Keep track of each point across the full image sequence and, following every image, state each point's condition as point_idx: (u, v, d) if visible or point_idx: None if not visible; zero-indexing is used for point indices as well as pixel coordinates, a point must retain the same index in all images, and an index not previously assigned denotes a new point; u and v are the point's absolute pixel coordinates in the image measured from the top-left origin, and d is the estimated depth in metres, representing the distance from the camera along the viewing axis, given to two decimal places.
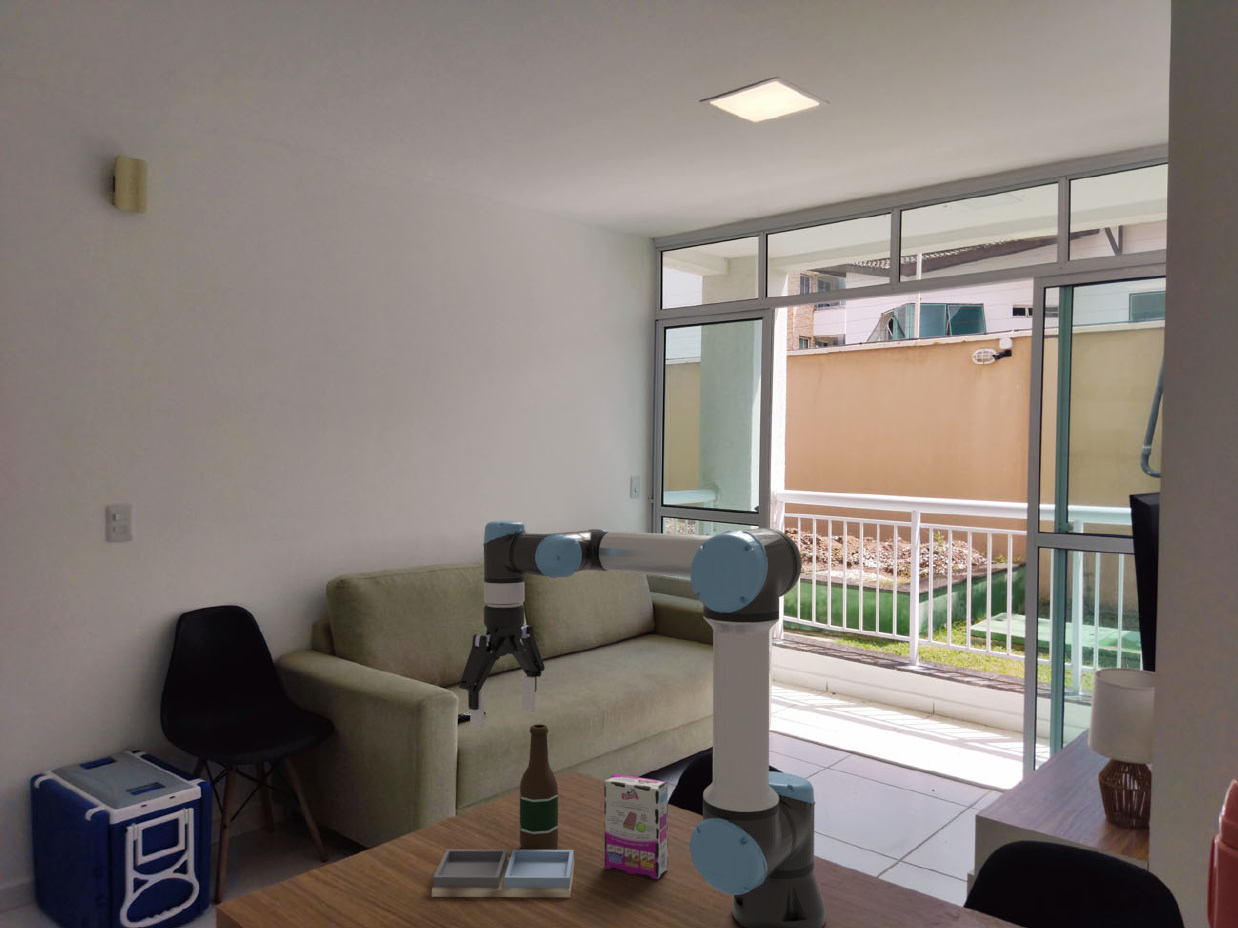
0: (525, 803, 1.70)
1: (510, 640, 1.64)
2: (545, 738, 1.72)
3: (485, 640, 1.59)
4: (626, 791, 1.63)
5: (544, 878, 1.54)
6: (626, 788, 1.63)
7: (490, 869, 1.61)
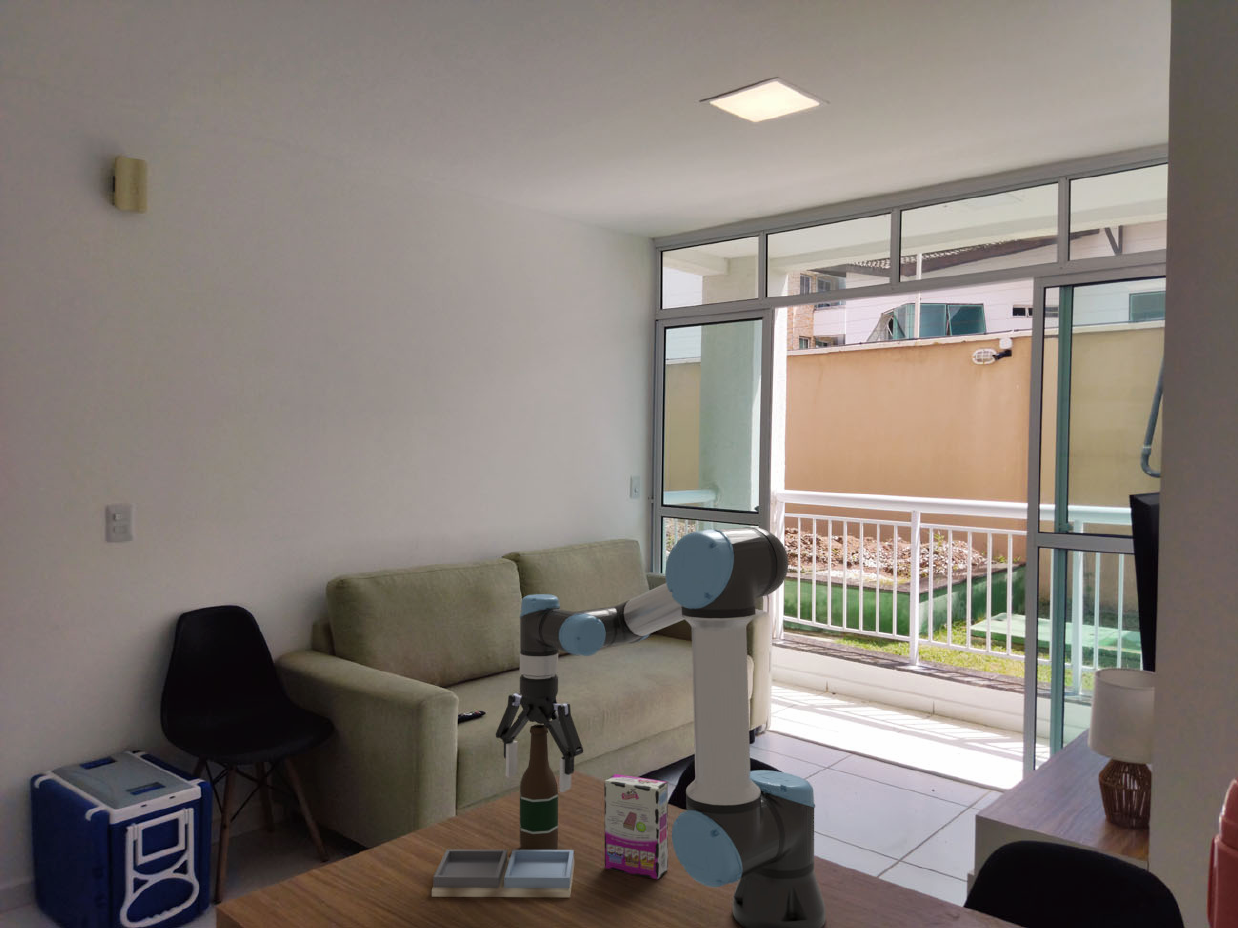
0: (525, 803, 1.70)
1: None
2: (545, 738, 1.72)
3: (511, 699, 1.76)
4: (626, 791, 1.63)
5: (544, 878, 1.54)
6: (626, 788, 1.63)
7: (490, 869, 1.61)
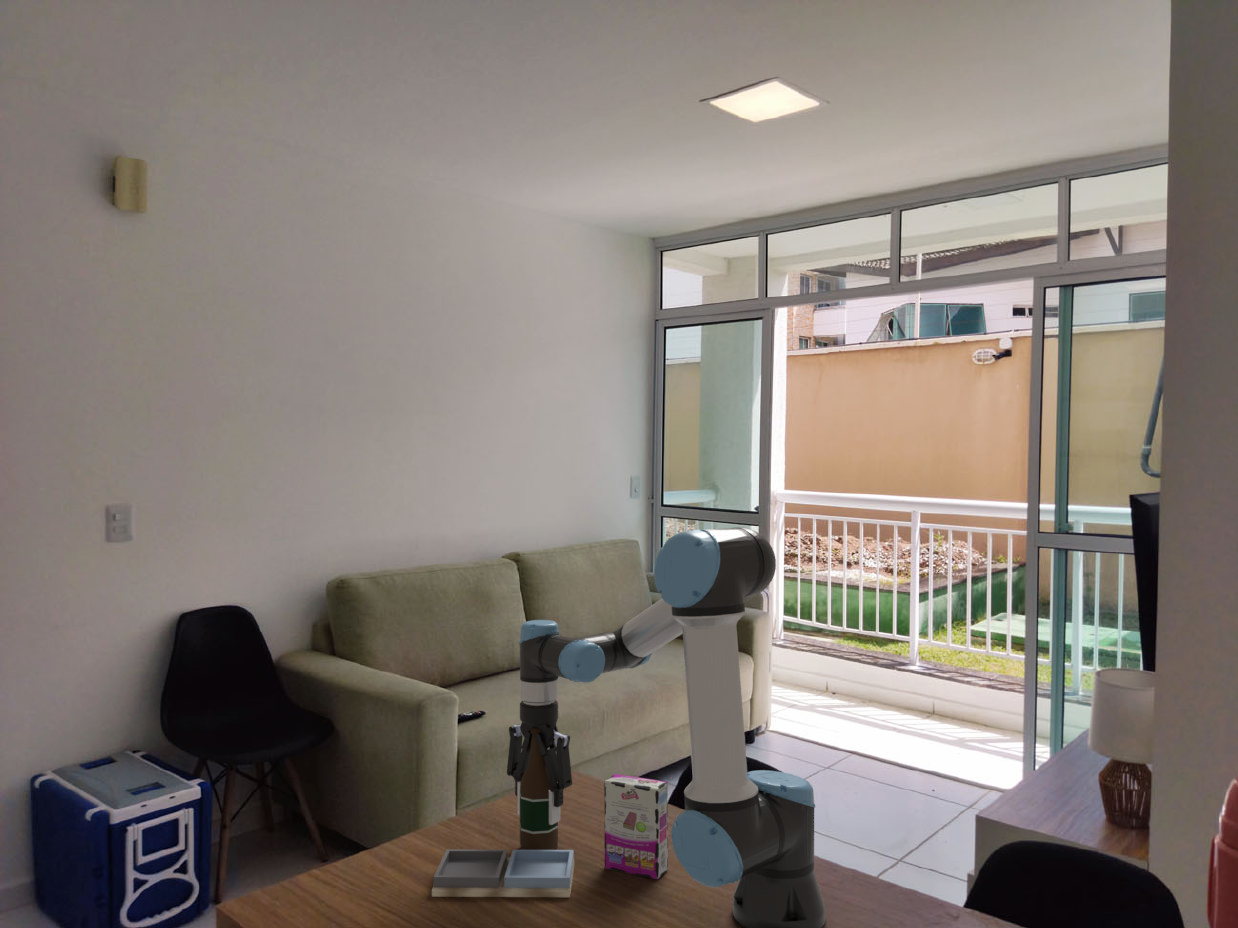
0: (525, 802, 1.70)
1: None
2: None
3: (511, 731, 1.76)
4: (626, 791, 1.63)
5: (544, 878, 1.54)
6: (626, 788, 1.63)
7: (490, 869, 1.61)
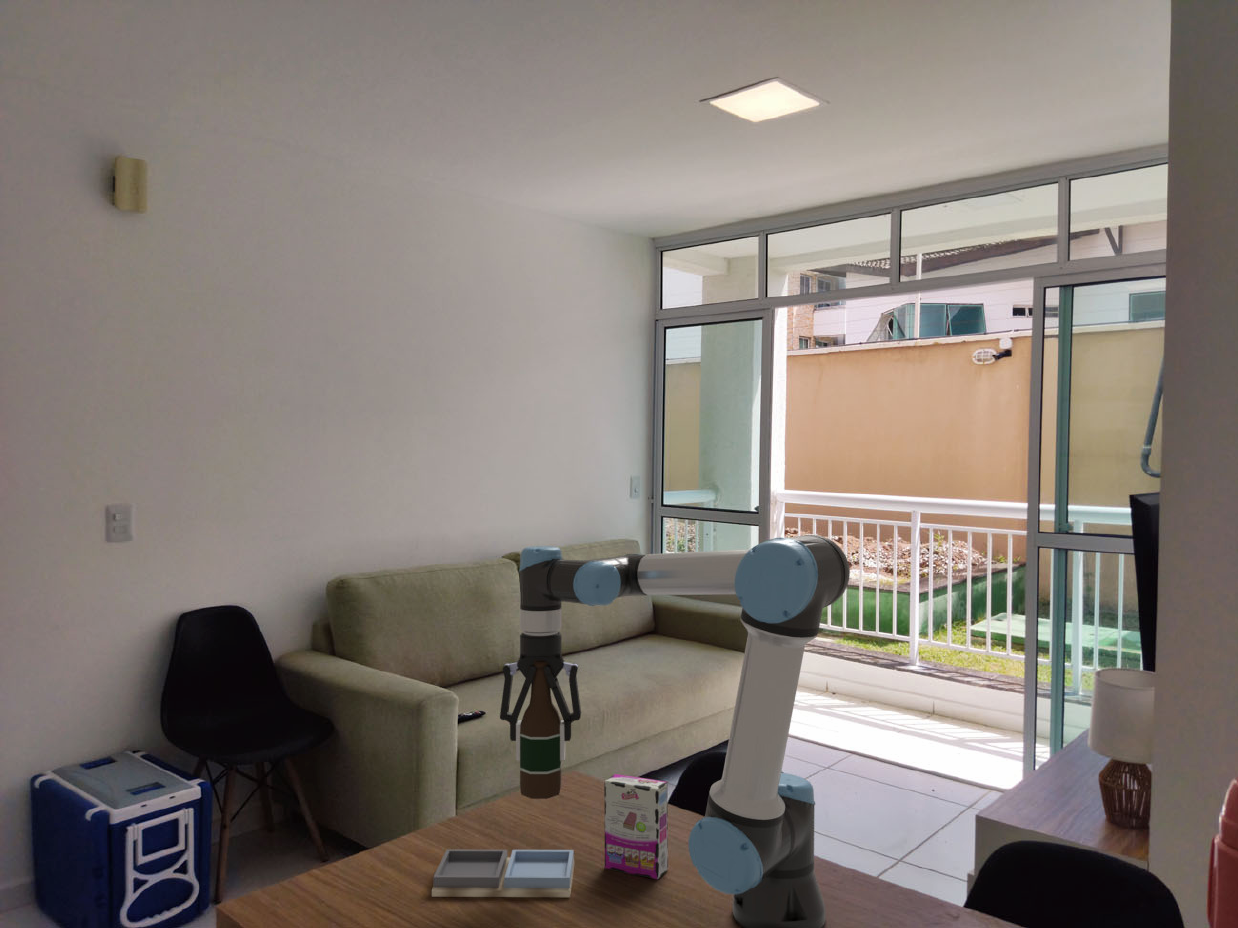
0: (537, 742, 1.57)
1: None
2: None
3: (507, 670, 1.59)
4: (626, 791, 1.63)
5: (544, 878, 1.54)
6: (626, 788, 1.63)
7: (490, 869, 1.61)
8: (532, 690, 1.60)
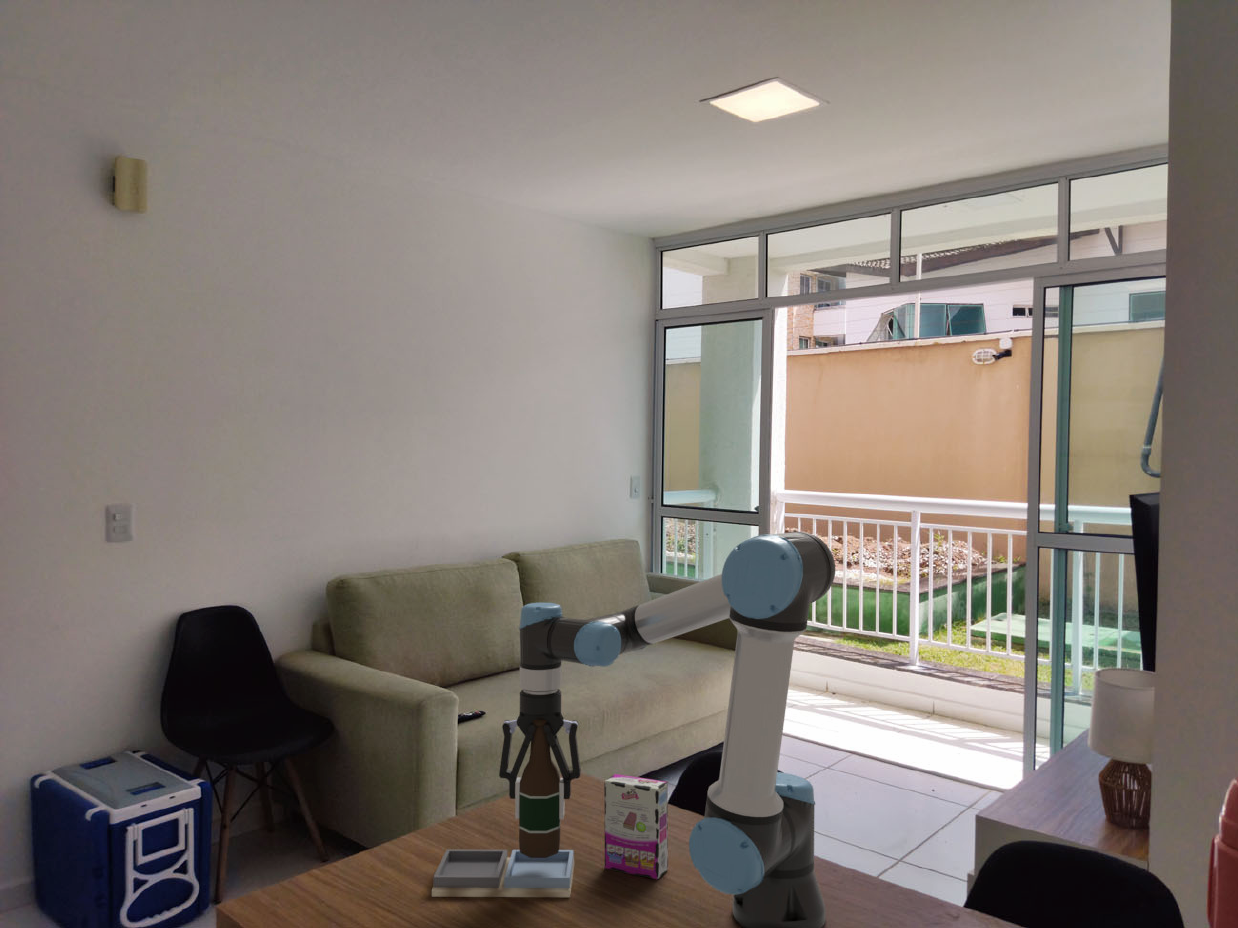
0: (536, 801, 1.56)
1: None
2: None
3: (507, 727, 1.59)
4: (626, 791, 1.63)
5: (544, 878, 1.54)
6: (626, 788, 1.63)
7: (490, 869, 1.61)
8: (532, 748, 1.59)
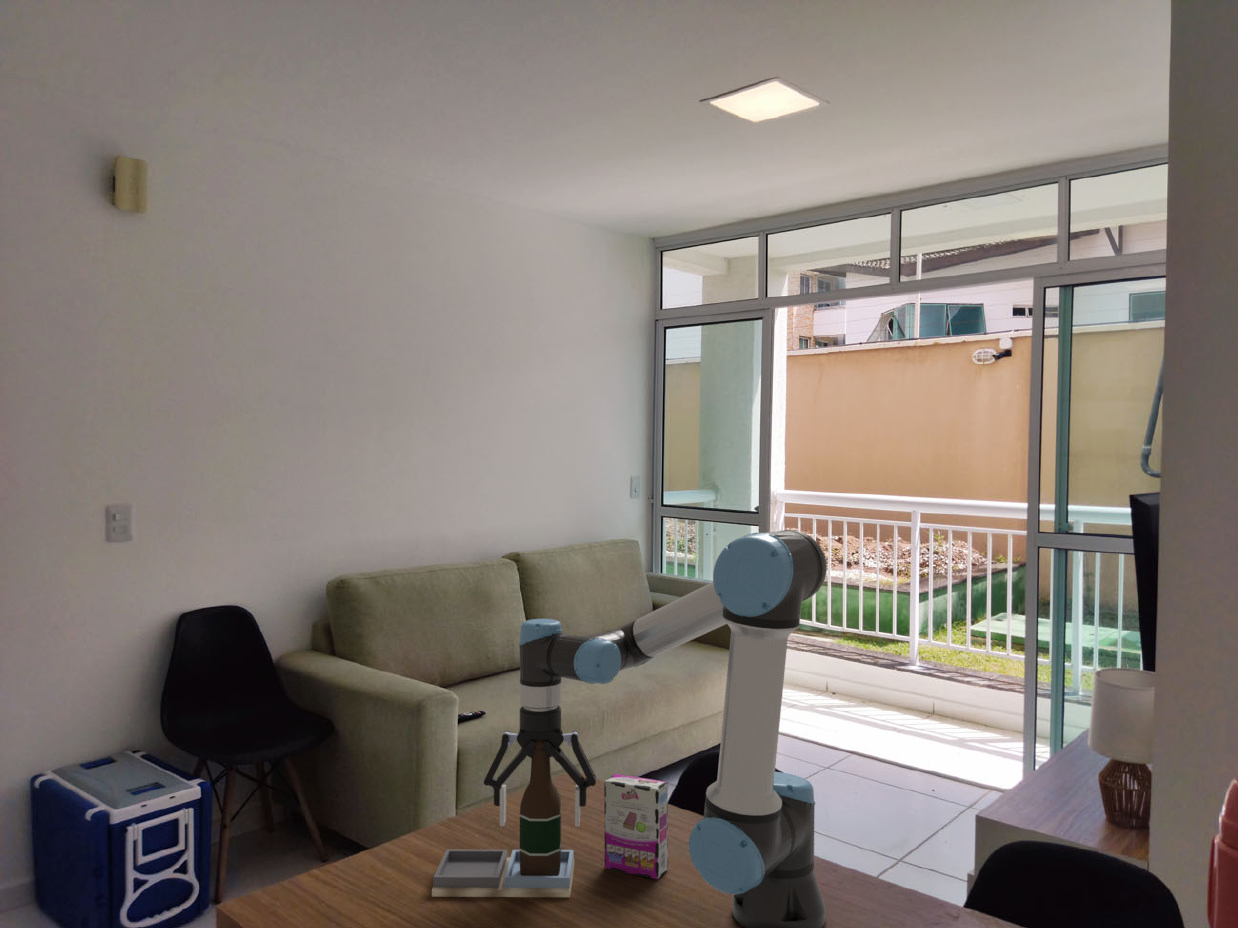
0: (537, 824, 1.56)
1: None
2: None
3: (506, 739, 1.59)
4: (626, 791, 1.63)
5: (544, 878, 1.54)
6: (626, 788, 1.63)
7: (490, 869, 1.61)
8: (532, 770, 1.59)
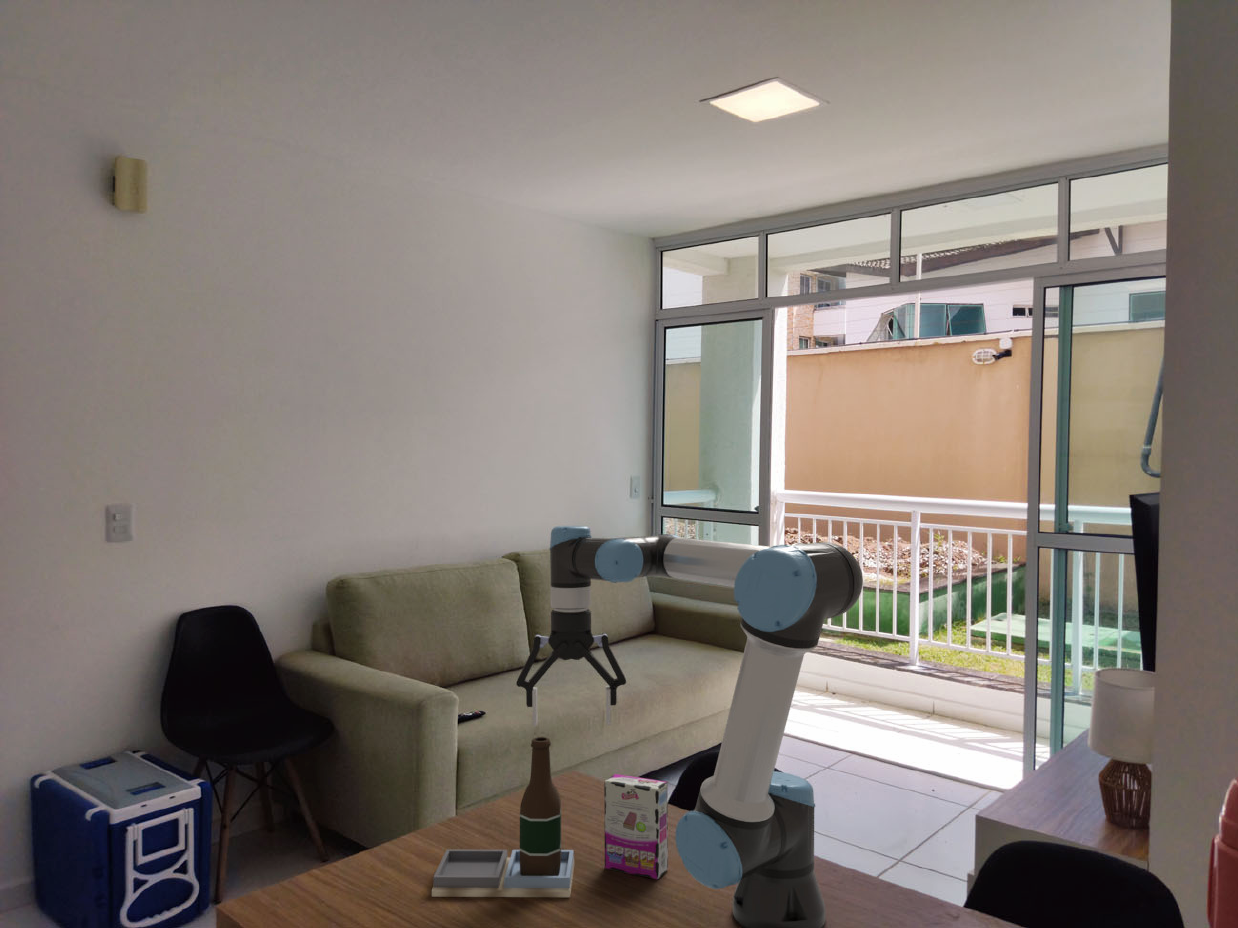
0: (537, 824, 1.56)
1: (574, 646, 1.63)
2: (549, 751, 1.60)
3: (538, 641, 1.63)
4: (626, 791, 1.63)
5: (544, 878, 1.54)
6: (626, 788, 1.63)
7: (490, 869, 1.61)
8: (532, 770, 1.59)
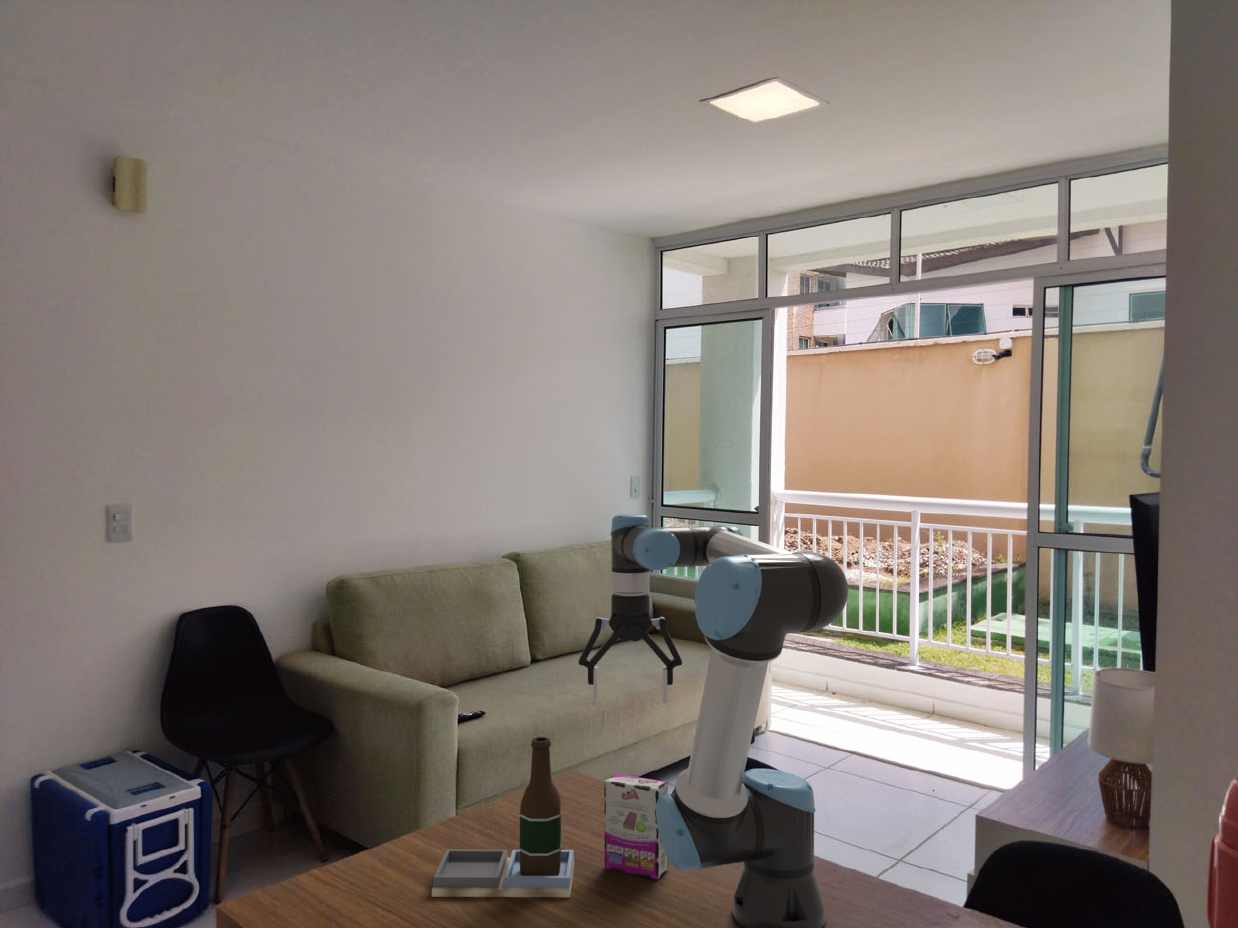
0: (537, 824, 1.56)
1: (633, 628, 1.73)
2: (549, 751, 1.60)
3: (599, 623, 1.73)
4: (626, 791, 1.63)
5: (544, 878, 1.54)
6: (626, 788, 1.63)
7: (490, 869, 1.61)
8: (532, 770, 1.59)
